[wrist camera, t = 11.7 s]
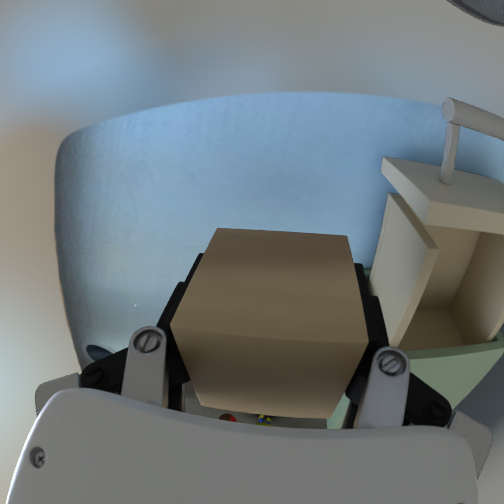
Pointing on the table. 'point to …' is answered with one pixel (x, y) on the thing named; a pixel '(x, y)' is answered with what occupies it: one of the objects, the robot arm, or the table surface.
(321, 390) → the block
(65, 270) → the table surface
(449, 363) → the cabinet
